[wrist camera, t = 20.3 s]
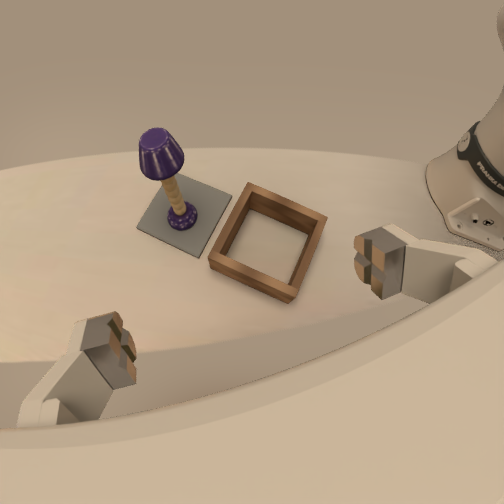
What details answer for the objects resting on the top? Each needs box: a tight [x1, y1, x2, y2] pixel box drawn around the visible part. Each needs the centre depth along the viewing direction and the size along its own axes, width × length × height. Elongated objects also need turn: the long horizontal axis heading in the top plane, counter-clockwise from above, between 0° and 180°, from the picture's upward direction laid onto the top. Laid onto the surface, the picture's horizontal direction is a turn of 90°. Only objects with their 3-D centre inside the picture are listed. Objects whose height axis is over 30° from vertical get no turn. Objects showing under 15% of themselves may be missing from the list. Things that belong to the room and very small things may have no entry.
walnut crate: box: [208, 182, 328, 304], centre depth 39 cm, size 11×11×5 cm
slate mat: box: [136, 173, 232, 258], centre depth 42 cm, size 10×10×1 cm
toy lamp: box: [139, 128, 198, 231], centre depth 33 cm, size 5×5×17 cm
